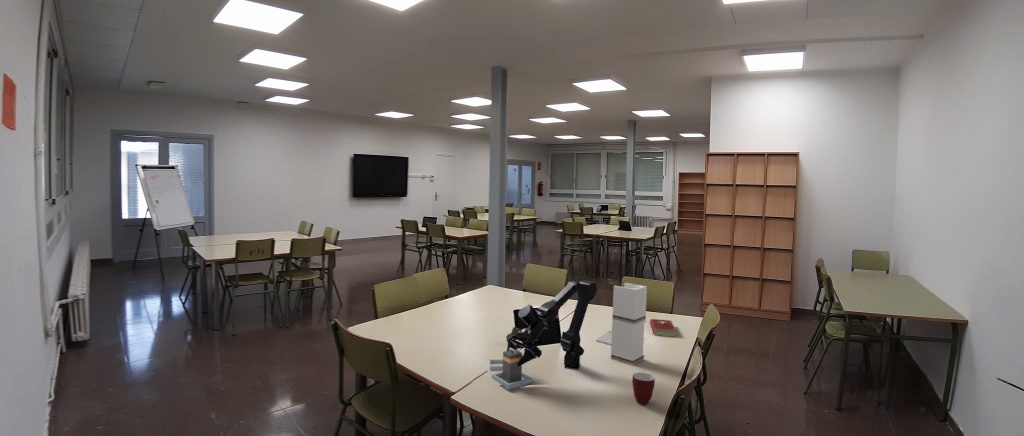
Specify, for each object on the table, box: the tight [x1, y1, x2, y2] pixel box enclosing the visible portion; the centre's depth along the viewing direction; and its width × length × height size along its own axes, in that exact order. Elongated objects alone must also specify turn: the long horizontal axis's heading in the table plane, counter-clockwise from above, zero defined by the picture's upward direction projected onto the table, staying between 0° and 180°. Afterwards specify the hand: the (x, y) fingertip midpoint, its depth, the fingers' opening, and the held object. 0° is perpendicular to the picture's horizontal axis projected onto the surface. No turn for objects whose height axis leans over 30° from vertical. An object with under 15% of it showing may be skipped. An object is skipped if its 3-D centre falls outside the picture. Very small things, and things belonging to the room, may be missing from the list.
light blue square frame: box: [491, 371, 533, 392], centre depth 194 cm, size 12×12×2 cm
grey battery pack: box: [501, 348, 523, 383], centre depth 194 cm, size 6×5×13 cm
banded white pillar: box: [610, 282, 648, 366], centre depth 223 cm, size 11×11×35 cm
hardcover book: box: [649, 318, 677, 337], centre depth 271 cm, size 12×21×4 cm, turn 169°
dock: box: [484, 358, 503, 372], centre depth 209 cm, size 12×10×2 cm
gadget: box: [596, 330, 612, 346], centre depth 252 cm, size 23×15×4 cm, turn 136°
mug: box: [631, 372, 656, 405], centre depth 180 cm, size 10×8×10 cm
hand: (511, 362), depth 194 cm, fingers open, 9 cm apart
